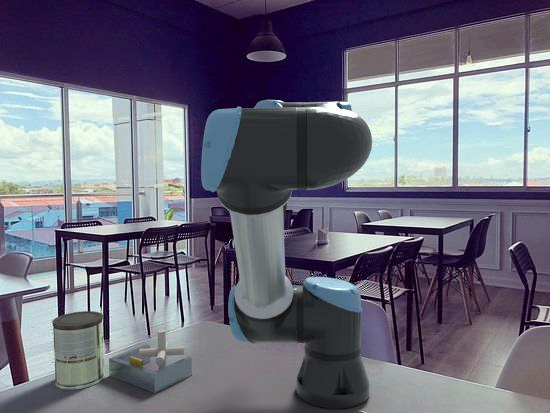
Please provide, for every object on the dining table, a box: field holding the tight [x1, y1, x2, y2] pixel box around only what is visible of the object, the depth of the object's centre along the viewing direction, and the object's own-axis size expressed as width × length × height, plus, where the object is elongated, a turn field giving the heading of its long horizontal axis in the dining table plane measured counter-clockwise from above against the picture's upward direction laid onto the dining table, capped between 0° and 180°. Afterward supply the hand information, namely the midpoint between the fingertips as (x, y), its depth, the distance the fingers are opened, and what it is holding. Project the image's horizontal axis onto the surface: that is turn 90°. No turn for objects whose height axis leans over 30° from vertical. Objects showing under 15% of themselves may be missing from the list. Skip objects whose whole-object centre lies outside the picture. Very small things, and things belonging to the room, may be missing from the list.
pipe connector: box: [139, 329, 185, 370], centre depth 103 cm, size 10×10×10 cm
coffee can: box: [51, 310, 106, 391], centre depth 101 cm, size 10×10×14 cm
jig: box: [108, 344, 193, 394], centre depth 103 cm, size 15×11×5 cm
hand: (272, 258), depth 114 cm, fingers closed
